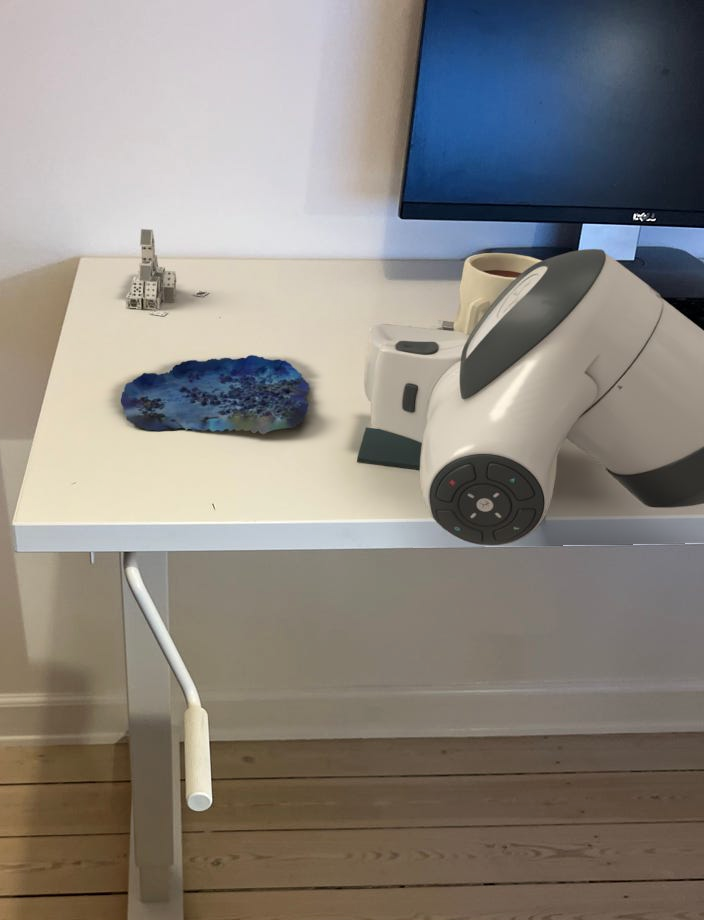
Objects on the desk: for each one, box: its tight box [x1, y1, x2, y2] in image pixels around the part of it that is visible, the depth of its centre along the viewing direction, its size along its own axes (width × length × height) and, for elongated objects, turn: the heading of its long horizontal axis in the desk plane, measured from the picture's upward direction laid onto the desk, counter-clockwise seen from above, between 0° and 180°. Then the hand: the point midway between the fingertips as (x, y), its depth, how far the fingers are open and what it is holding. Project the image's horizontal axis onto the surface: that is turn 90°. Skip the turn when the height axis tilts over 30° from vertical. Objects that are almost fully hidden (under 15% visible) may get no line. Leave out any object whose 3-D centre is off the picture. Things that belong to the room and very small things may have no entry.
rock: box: [120, 354, 310, 435], centre depth 92 cm, size 15×17×2 cm
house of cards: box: [125, 228, 210, 317], centre depth 111 cm, size 9×9×8 cm
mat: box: [356, 426, 422, 471], centre depth 84 cm, size 14×6×1 cm, turn 77°
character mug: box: [453, 252, 543, 335], centre depth 83 cm, size 11×7×13 cm, turn 140°
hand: (494, 334), depth 84 cm, fingers closed on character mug, 7 cm apart
